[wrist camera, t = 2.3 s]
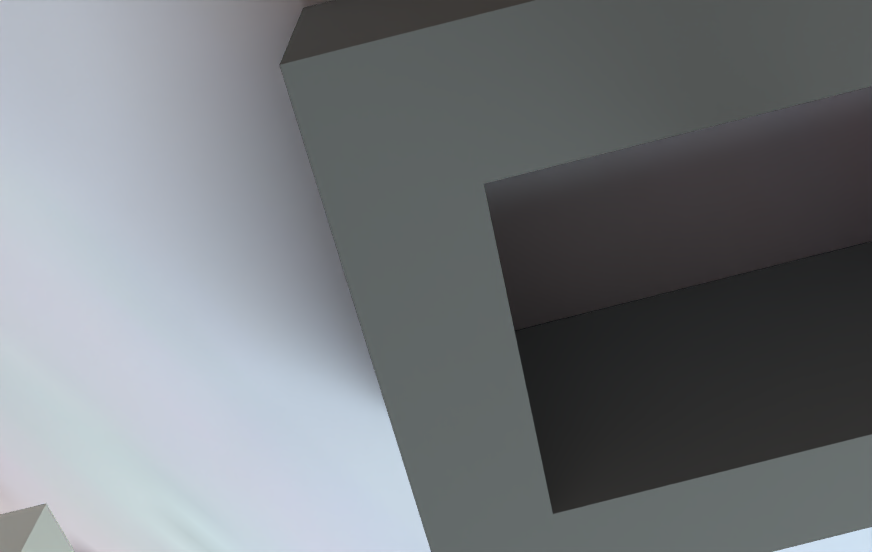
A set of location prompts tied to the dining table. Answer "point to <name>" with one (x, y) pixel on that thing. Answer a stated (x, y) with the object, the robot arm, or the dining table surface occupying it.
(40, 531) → the robot arm
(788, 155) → the dining table surface
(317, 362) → the dining table surface
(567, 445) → the grey storage bin
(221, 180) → the dining table surface
